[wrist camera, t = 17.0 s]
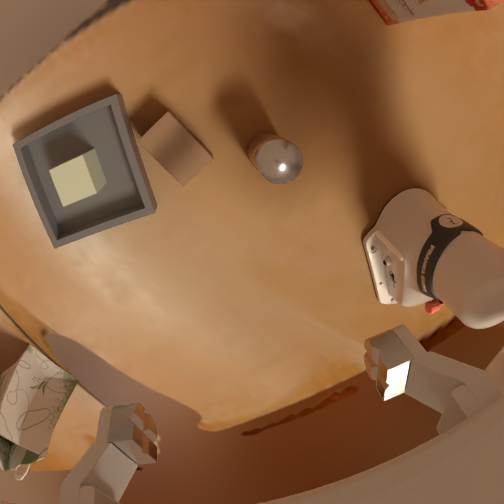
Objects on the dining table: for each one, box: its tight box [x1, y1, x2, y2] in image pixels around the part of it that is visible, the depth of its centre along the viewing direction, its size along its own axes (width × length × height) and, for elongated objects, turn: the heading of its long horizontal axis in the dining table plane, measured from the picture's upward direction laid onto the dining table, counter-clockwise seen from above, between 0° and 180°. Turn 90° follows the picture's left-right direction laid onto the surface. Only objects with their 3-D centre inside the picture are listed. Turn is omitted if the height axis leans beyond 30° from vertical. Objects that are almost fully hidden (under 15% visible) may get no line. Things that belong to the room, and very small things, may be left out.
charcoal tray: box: [13, 94, 157, 248], centre depth 37 cm, size 16×16×3 cm
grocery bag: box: [0, 345, 79, 480], centre depth 44 cm, size 32×14×23 cm, turn 125°
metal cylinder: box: [247, 133, 303, 184], centre depth 38 cm, size 5×5×8 cm
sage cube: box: [49, 148, 107, 207], centre depth 35 cm, size 5×5×5 cm
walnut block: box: [137, 111, 214, 187], centre depth 38 cm, size 8×5×4 cm, turn 40°
